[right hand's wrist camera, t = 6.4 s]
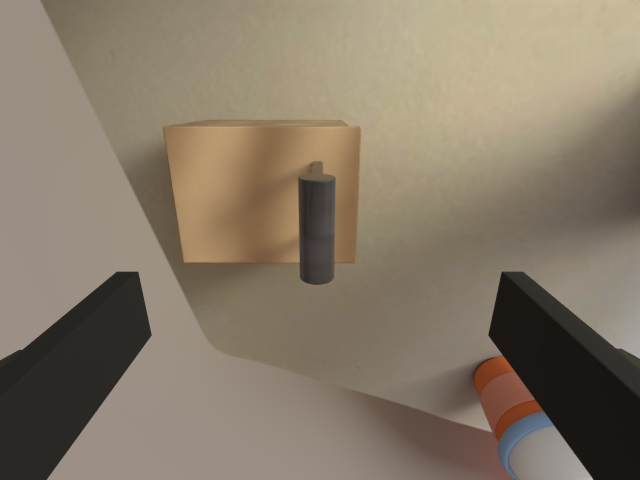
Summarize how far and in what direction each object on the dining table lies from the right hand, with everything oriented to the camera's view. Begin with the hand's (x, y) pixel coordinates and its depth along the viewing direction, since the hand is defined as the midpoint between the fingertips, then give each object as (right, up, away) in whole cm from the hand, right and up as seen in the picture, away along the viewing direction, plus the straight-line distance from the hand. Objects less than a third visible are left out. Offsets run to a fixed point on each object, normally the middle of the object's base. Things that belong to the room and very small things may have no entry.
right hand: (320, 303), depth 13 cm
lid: (-4, +6, +14) cm, 15 cm away
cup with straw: (+22, -15, +31) cm, 41 cm away
